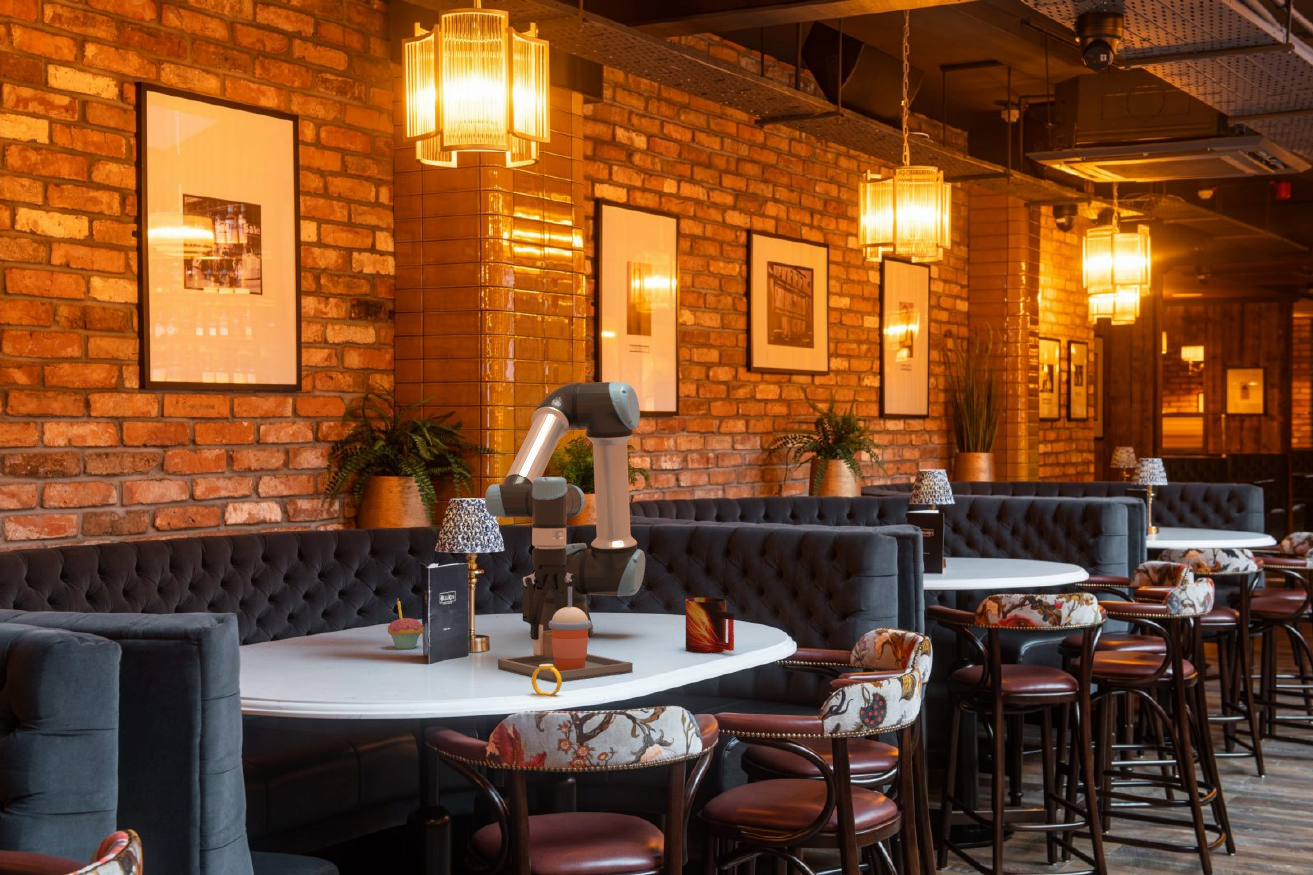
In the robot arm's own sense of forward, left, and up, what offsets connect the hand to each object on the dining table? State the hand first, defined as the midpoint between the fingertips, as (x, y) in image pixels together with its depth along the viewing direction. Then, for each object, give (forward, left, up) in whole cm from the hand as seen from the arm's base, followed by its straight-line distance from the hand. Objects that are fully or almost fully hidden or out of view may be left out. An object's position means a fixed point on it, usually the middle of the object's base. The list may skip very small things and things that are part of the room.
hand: (548, 653), depth 302 cm
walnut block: (0, 0, 0) cm, 0 cm away
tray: (+6, 0, -3) cm, 7 cm away
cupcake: (-45, -11, -3) cm, 47 cm away
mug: (+5, +44, -3) cm, 44 cm away
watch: (+27, -19, -3) cm, 33 cm away
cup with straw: (+11, -2, -3) cm, 11 cm away
